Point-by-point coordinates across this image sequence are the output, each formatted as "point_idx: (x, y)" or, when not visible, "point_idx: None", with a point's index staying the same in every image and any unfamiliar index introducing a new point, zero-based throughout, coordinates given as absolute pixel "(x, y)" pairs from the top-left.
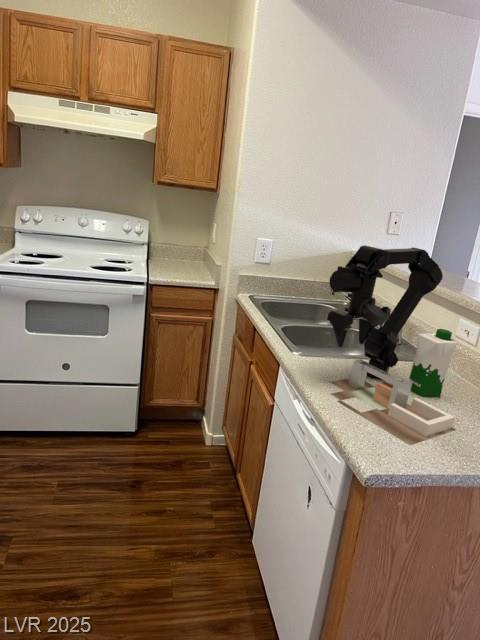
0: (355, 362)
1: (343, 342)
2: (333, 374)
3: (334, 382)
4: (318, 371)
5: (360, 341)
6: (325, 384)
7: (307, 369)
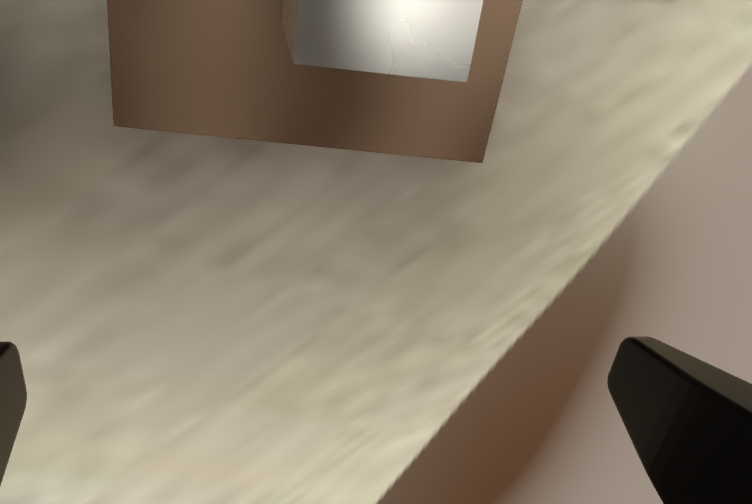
0: (468, 41)
1: (704, 381)
2: (213, 291)
3: (454, 135)
4: (292, 361)
5: (4, 417)
6: (450, 187)
7: (344, 403)
